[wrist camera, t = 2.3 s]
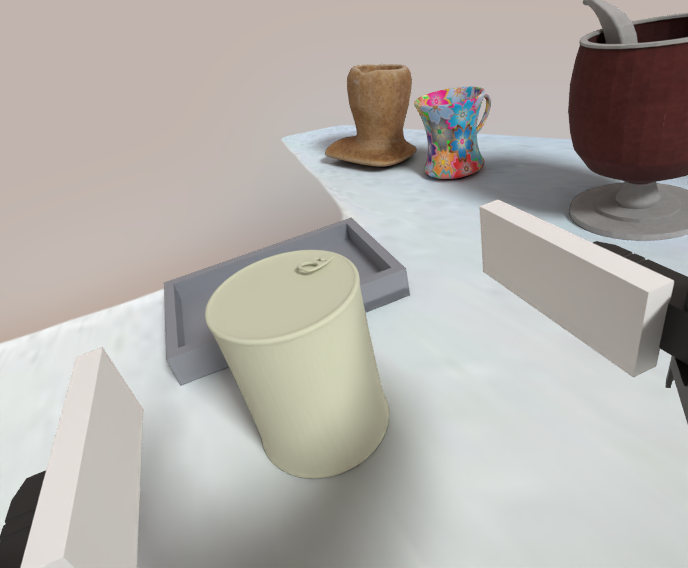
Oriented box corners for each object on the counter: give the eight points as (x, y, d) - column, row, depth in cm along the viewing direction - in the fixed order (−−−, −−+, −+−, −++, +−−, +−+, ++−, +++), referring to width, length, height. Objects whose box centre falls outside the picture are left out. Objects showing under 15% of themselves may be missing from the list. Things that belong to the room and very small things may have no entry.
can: (415, 405, 32) (391, 260, 25) (326, 507, 27) (267, 359, 20) (324, 358, 38) (286, 232, 31) (237, 435, 33) (170, 303, 26)
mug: (451, 189, 61) (445, 108, 55) (409, 176, 68) (400, 103, 62) (515, 160, 65) (515, 82, 59) (468, 150, 72) (465, 80, 66)
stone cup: (434, 151, 75) (425, 53, 67) (383, 177, 70) (366, 74, 62) (374, 143, 86) (360, 57, 78) (325, 165, 81) (305, 75, 73)
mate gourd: (756, 210, 43) (838, -44, 32) (645, 261, 40) (694, -1, 29) (615, 171, 56) (641, -20, 45) (523, 208, 53) (526, 11, 42)
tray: (180, 385, 38) (166, 359, 37) (175, 304, 50) (163, 282, 48) (409, 295, 43) (405, 268, 41) (356, 240, 54) (351, 217, 53)
